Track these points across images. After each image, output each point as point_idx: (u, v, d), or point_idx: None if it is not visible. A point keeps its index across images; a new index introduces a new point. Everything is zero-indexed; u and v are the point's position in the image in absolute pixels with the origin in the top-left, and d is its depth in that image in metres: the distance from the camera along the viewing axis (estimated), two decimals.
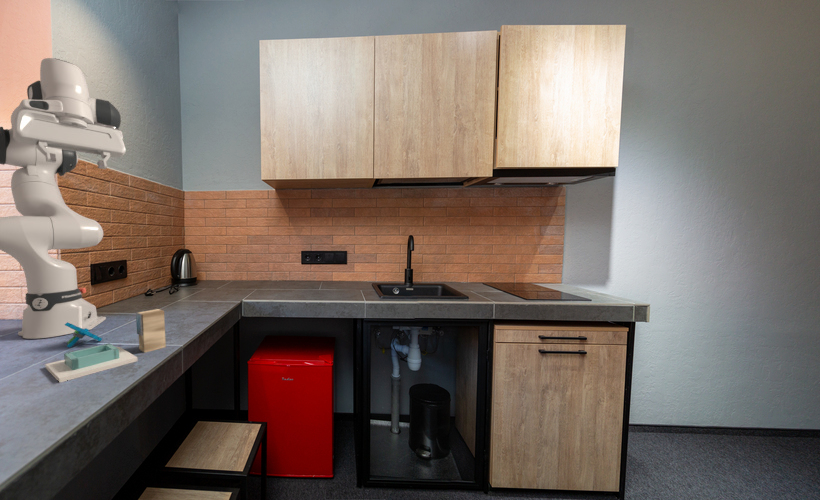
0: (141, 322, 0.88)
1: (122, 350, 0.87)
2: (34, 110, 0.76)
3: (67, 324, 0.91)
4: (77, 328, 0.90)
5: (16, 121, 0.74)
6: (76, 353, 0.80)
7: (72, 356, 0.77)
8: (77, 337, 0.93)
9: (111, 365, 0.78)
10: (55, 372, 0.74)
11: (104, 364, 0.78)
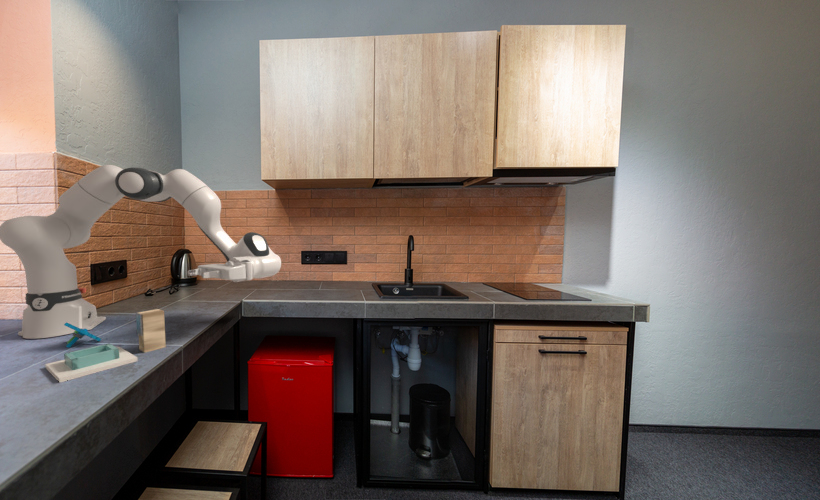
0: (141, 322, 0.88)
1: (122, 350, 0.87)
2: None
3: (66, 324, 0.91)
4: (76, 328, 0.90)
5: (237, 279, 1.02)
6: (76, 353, 0.80)
7: (72, 356, 0.77)
8: (76, 337, 0.93)
9: (111, 365, 0.78)
10: (55, 372, 0.74)
11: (104, 364, 0.78)
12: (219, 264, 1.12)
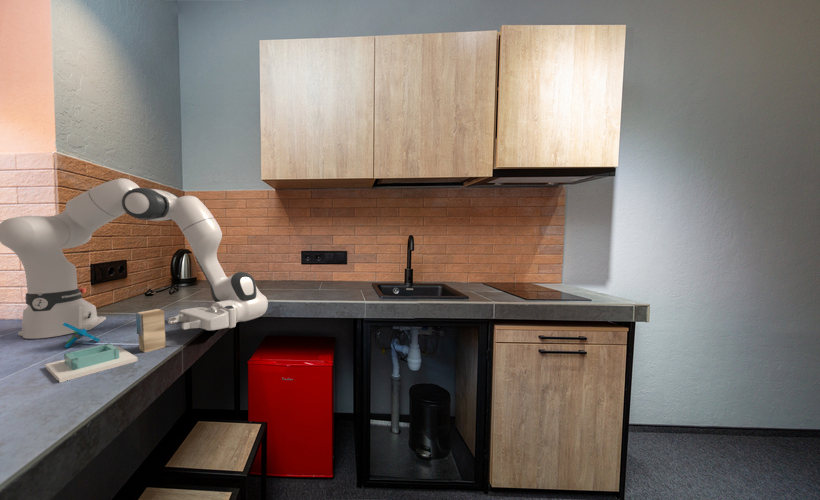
0: (141, 322, 0.88)
1: (122, 350, 0.87)
2: None
3: (65, 324, 0.91)
4: (74, 328, 0.90)
5: (219, 328, 0.98)
6: (76, 353, 0.80)
7: (72, 356, 0.77)
8: (75, 337, 0.92)
9: (111, 365, 0.78)
10: (55, 372, 0.74)
11: (104, 364, 0.78)
12: (202, 308, 1.08)
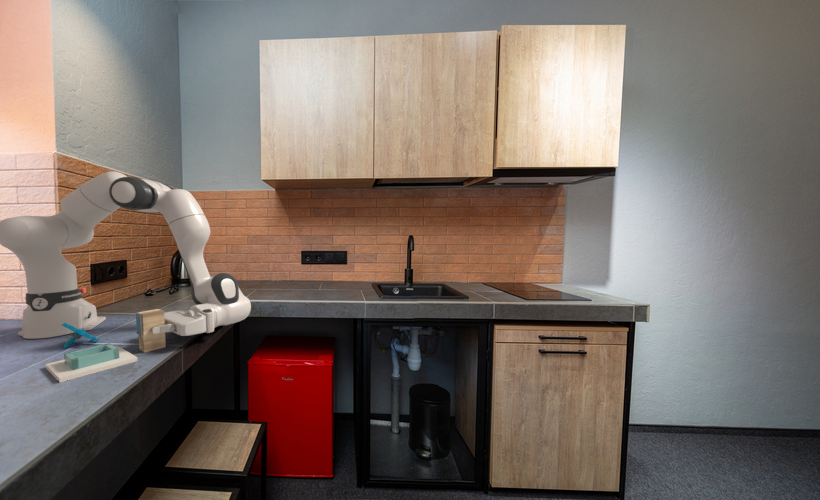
0: (141, 322, 0.88)
1: (122, 350, 0.87)
2: None
3: (64, 324, 0.91)
4: (72, 329, 0.90)
5: (195, 333, 0.92)
6: (76, 353, 0.80)
7: (72, 356, 0.77)
8: (74, 338, 0.92)
9: (111, 365, 0.78)
10: (55, 372, 0.74)
11: (104, 364, 0.78)
12: (179, 312, 1.02)
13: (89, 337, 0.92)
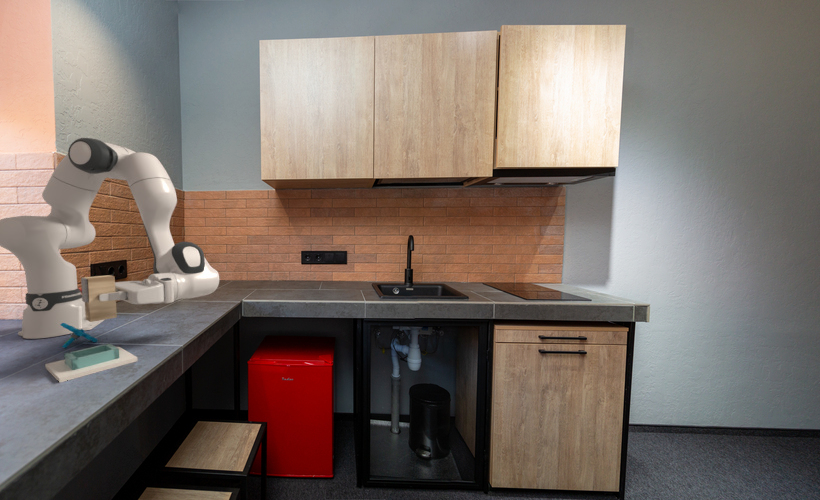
0: (86, 287, 0.78)
1: (122, 350, 0.87)
2: None
3: (62, 324, 0.91)
4: (70, 329, 0.90)
5: (150, 302, 0.83)
6: (76, 353, 0.80)
7: (72, 356, 0.77)
8: (72, 338, 0.92)
9: (111, 365, 0.78)
10: (55, 372, 0.74)
11: (104, 364, 0.78)
12: (136, 282, 0.92)
13: (87, 337, 0.92)
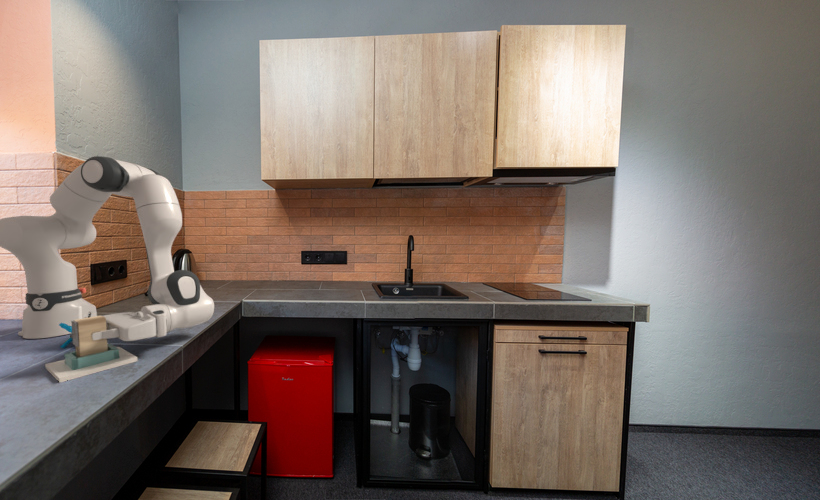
0: (76, 331, 0.77)
1: (122, 350, 0.87)
2: None
3: (61, 324, 0.91)
4: (68, 329, 0.89)
5: (142, 338, 0.81)
6: None
7: (72, 356, 0.77)
8: (71, 338, 0.92)
9: (111, 365, 0.78)
10: (55, 372, 0.74)
11: (104, 364, 0.78)
12: (129, 314, 0.91)
13: None
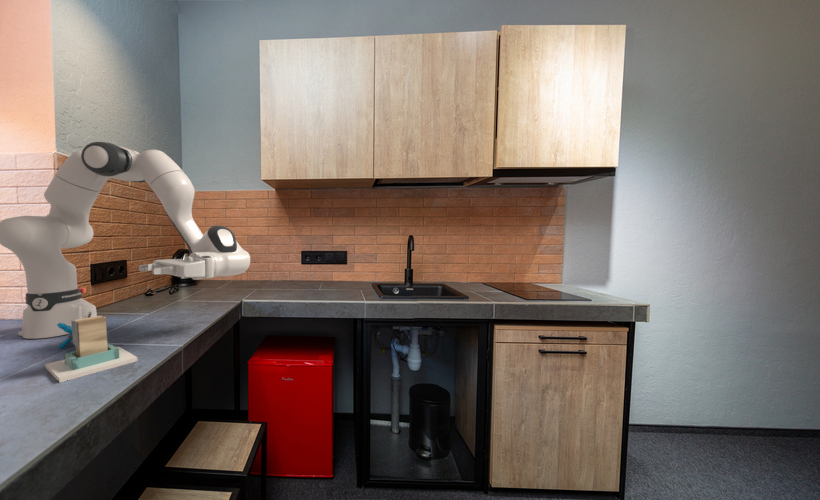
0: (76, 331, 0.77)
1: (122, 350, 0.87)
2: None
3: (59, 325, 0.91)
4: (65, 329, 0.89)
5: (194, 276, 0.91)
6: None
7: (72, 356, 0.77)
8: (69, 338, 0.92)
9: (111, 365, 0.78)
10: (55, 372, 0.74)
11: (104, 364, 0.78)
12: (178, 259, 1.01)
13: None
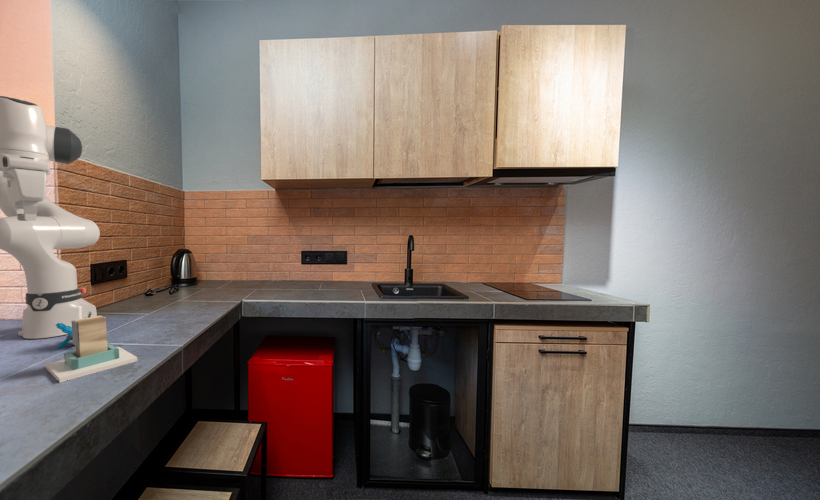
0: (76, 331, 0.77)
1: (122, 350, 0.87)
2: None
3: (57, 325, 0.91)
4: (63, 330, 0.89)
5: (45, 186, 0.74)
6: None
7: (72, 356, 0.77)
8: (67, 338, 0.92)
9: (111, 365, 0.78)
10: (55, 372, 0.74)
11: (104, 364, 0.78)
12: (8, 180, 0.79)
13: None
